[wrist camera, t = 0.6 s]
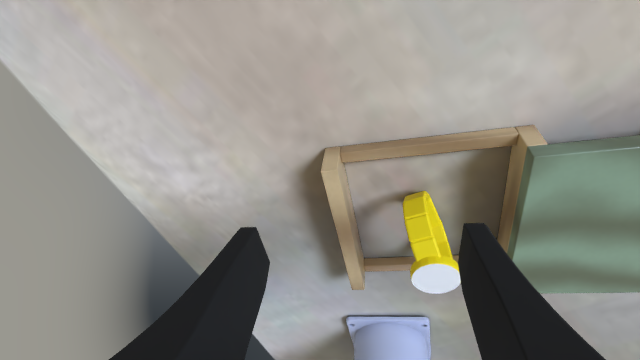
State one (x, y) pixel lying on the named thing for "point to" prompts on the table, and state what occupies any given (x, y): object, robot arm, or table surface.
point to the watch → (429, 246)
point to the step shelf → (527, 207)
